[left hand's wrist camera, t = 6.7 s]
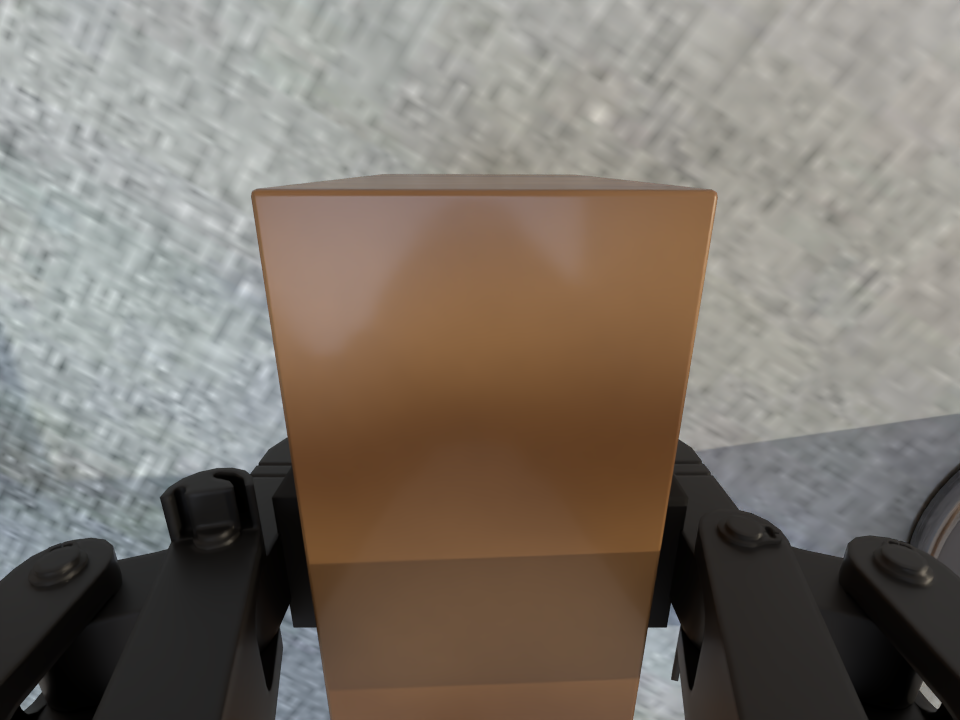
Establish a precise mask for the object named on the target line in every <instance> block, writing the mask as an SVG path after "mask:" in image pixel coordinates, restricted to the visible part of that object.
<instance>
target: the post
mask: <svg viewBox="0 0 960 720" xmlns="http://www.w3.org/2000/svg"><path fill="white" fill-rule="evenodd" d="M251 198H252V205H253V211H254V218H255V225H256V231H257V238H258V244H259V251H260V258H261V264H262V271H263V277H264V284H265V291H266V297H267V304H268V310H269V317H270V324H271V330H272V337H273V343H274V350H275V356H276V363H277V370H278V376H279V383H280V389H281V396H282V403H283V409H284V416H285V422H286V429H287V436H288V442H289V449H290V455H291V462H292V468H293V475H294V482H295V488H296V495H297V501H298V508H299V515H300V521H301V528H302V534H303V541H304V548H305V554H306V561H307V567H308V574H309V581H310V587H311V594H312V600H313V607H314V613H315V620H316V627H317V633H318V640H319V646H320V653H321V660H322V666H323V673H324V679H325V686H326V693H327V699H328V706H329V712H330V719H331V720H633V716H634V710H635V704H636V698H637V691H638V685H639V679H640V673H641V667H642V661H643V654H644V648H645V642H646V636H647V630H648V624H649V617H650V611H651V605H652V599H653V593H654V587H655V580H656V574H657V568H658V562H659V556H660V549H661V543H662V537H663V531H664V525H665V519H666V512H667V506H668V500H669V494H670V488H671V482H672V475H673V469H674V463H675V457H676V451H677V445H678V438H679V432H680V426H681V420H682V414H683V408H684V401H685V395H686V389H687V383H688V377H689V371H690V364H691V358H692V352H693V346H694V340H695V334H696V327H697V321H698V315H699V309H700V303H701V297H702V290H703V284H704V278H705V272H706V266H707V260H708V253H709V247H710V241H711V235H712V229H713V223H714V216H715V210H716V204H717V198H718V197H717V192H715V191H713V190H710V189H701V188H692V187H683V186H674V185H664V184H655V183H646V182H637V181H628V180H618V179H609V178H600V177H591V176H582V175H464V174H382V175H373V176H364V177H355V178H347V179H338V180H329V181H321V182H312V183H303V184H294V185H286V186H277V187H268V188H260V189H256V190H253V191H252V194H251Z"/></svg>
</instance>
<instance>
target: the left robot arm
mask: <svg viewBox="0 0 960 720" xmlns="http://www.w3.org/2000/svg"><path fill="white" fill-rule="evenodd" d="M160 500H161V503H162V507H163V511H164V515H165V519H166V523H167V527H168V530H169V534H170V538H171V544H170V546H169V548H168V549H166V550H163V551H159V552H155V553H150V554H145V555H140V556H136V557H131V558H126V559H121V560H117V557H116V554H115V551H114V547H113V545H111V544H110V543H109V542H108V541H106V540H104V539H97V538H85V539H78V540H72V541H67V542H64V543H62V544H61V543H60V544H57V545H54V546H51V547H49V548H48V549H46V550H44V551H42V552H40V553H38V554H36V555H34V556H32V557H30V558H29V559H27V560H26V561H25V562H23V563H22V564H20V565H19V566H18V567H16V568H15V569H13V570H12V571H11V572H10V573H9V574H8V575H7V576H5V577H4V578H3V579H2V580H1V581H0V720H275V715H276V706H277V697H278V688H279V679H280V670H281V661H282V652H283V644H282V637H281V631H280V625H281V622H282V620H283V618H284V615H285V613H286V611H287V609H288V606H289V604H290V609H291V615H292V621H293V627H316V620H315V613H314V607H313V600H312V594H311V587H310V581H309V574H308V567H307V561H306V554H305V548H304V541H303V534H302V528H301V521H300V515H299V508H298V501H297V495H296V488H295V482H294V475H293V468H292V462H291V455H290V449H289V442H288V438H286V439H284V440H283V441H281V442H280V443H278V444H276V445H275V446H273V447H272V448H270V449H269V450H268V451H267V453H266V454H265V455H264V457H263V458H262V459H261V461H260V462H259V466H256V467H255V469H254V470H253V471H252V472H251V474H249V473H248V472H246V471H245V470H241V469H236V468H216V469H211V470H206V471H202V472H198V473H196V474H193V475H191V476H188V477H185V478H183V479H181V480H180V481H178V482H177V483H175V484H173V485H172V486H170V487H169V488H168V489H167V490H166V491H165V492H164V493H163V494H162V496H161V497H160ZM671 603H672V605H673V608H674V610H675V612H676V614H677V617H678V619H679V621H680V623H681V626H680V631H679V637H678V642H677V648H676V653H675V659H674V664H673V670H672V677H671V680H675V681H678V678H679V673H680V678H681V687H682V696H683V705H684V714H685V720H960V470H959V471H958V472H957V473H956V474H955V475H954V476H953V477H951V478H950V479H949V481H948V482H947V483H946V484H945V485H944V486H943V487H942V488H941V489H940V490H939V492H938V493H937V494H936V495H935V497H934V498H933V499H932V500H931V502H930V503H929V505H928V506H927V508H926V509H925V511H924V512H923V514H922V516H921V518H920V520H919V522H918V523H917V526H916V528H915V530H914V533H913V535H912V539H911V542H910V544H908V543H905V542H902V541H898V540H895V539H891V538H885V537H877V536H863V537H856V538H855V539H853V540H852V541H851V542H849V543H848V546H847V549H846V552H845V555H844V558H840V557H835V556H830V555H826V554H821V553H816V552H811V551H807V550H802V549H799V548H795V547H791V545H790V543H789V541H788V539H787V538H786V537H785V535H784V534H783V533H782V531H781V530H780V529H778V528H777V527H776V526H774V525H773V524H771V523H770V522H769V521H767V520H765V519H763V518H761V517H759V516H756V515H754V514H752V513H748V512H744V511H740V510H739V509H738V508H737V507H736V505H735V504H734V503H733V501H732V500H731V499H730V497H729V496H728V495H727V494H726V492H725V491H724V490H723V488H722V487H721V486H720V484H719V483H718V482H717V480H716V479H715V478H714V476H713V475H711V474H710V471H709V470H708V469H707V467H706V466H705V465H704V464H702V461H701V459H700V458H699V457H698V455H697V454H696V453H695V452H694V450H693V449H692V448H691V447H690V446H688V445H687V444H685V443H683V442H682V441H680V440H679V439H678V445H677V451H676V457H675V463H674V469H673V475H672V482H671V488H670V494H669V500H668V506H667V512H666V519H665V525H664V531H663V537H662V543H661V549H660V556H659V562H658V568H657V574H656V580H655V587H654V593H653V599H652V605H651V611H650V617H649V624H648V627H667V623H668V617H669V611H670V605H671ZM923 681H924V682H925V684H926V685H927V686H928V687H929V688H930V689H931V691H932V692H933V693H934V694H935V695H936V696H937V698H938V699H939V700H940V701H941V702H942V704H941V706H940V708H939V709H936V708H935V707H934V706H933V705H932V704H931V703H930V702H929V701H928V700H927V699H926V698H925V697H924V695H923V694H922V693H921V692H920V690H919V689H920V687H921V684H922V682H923ZM38 683H39V686H40V688H41V690H42V693H41V694H40V695H39V696H38V698H37V699H36V700H35V701H34V702H33V703H32V704H31V705H30V706H29V707H28V708H27V709H26V710H25V711H23V710H22V709H21V707H20V704H21V703H22V702H23V701H24V700H25V698H26V697H27V696H28V695H29V694H30V693H31V691H32V690H33V689H34V688H35V687H36V685H37V684H38Z"/></svg>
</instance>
